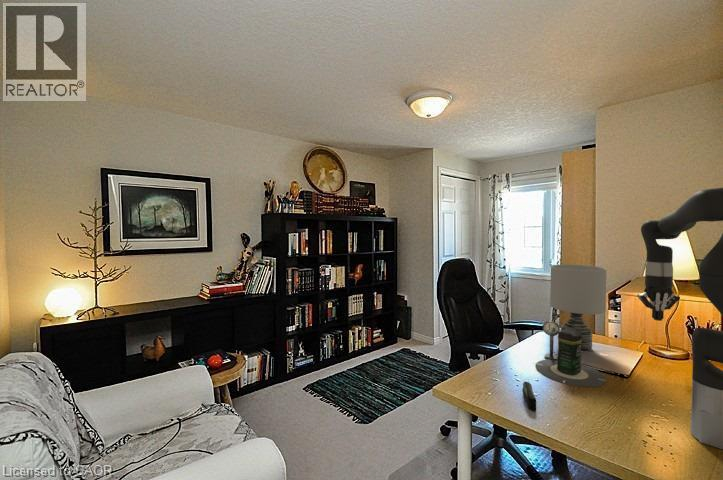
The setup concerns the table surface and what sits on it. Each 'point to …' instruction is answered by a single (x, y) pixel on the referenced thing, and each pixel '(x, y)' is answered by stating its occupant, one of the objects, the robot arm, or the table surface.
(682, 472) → the table surface
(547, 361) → the mat
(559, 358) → the coffee jar
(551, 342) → the dial gauge
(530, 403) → the dark elongated block
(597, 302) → the lamp
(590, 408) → the table surface
